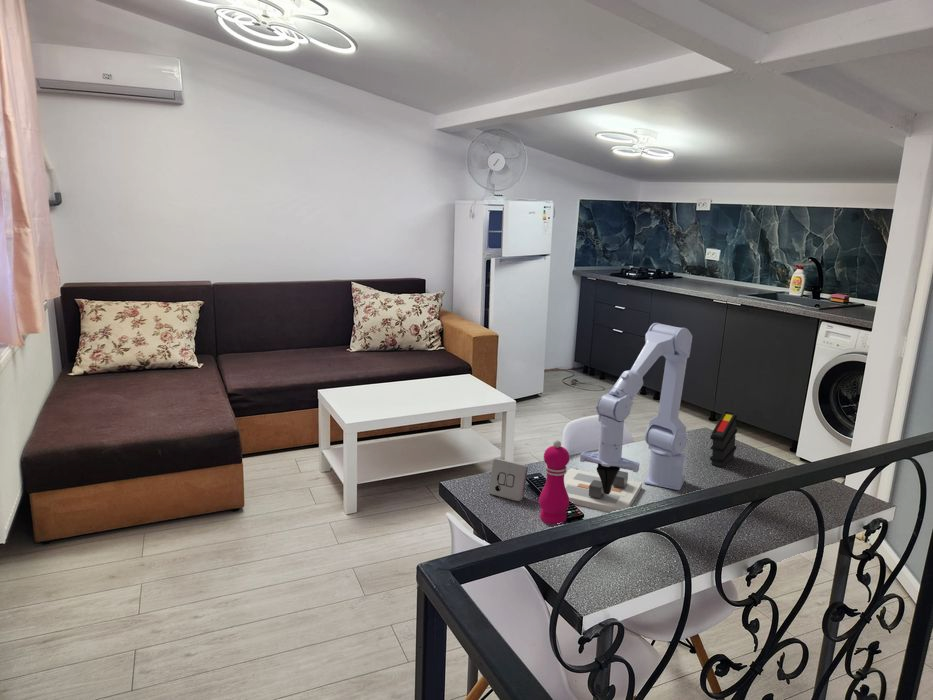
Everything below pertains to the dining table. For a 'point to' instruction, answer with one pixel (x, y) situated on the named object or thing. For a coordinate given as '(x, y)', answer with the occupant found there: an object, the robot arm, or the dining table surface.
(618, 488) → the switch panel
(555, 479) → the pepper mill
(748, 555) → the dining table surface
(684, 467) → the robot arm
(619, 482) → the dark grey block
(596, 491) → the tab
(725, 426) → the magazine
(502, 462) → the electrical switch
